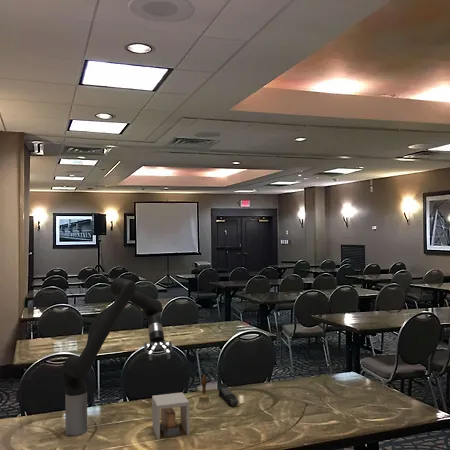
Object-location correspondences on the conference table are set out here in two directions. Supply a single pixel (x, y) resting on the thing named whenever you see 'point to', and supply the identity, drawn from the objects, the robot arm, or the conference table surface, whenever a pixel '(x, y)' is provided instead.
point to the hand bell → (204, 396)
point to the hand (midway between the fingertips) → (160, 361)
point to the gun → (227, 394)
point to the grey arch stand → (170, 402)
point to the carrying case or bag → (168, 393)
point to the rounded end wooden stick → (168, 418)
